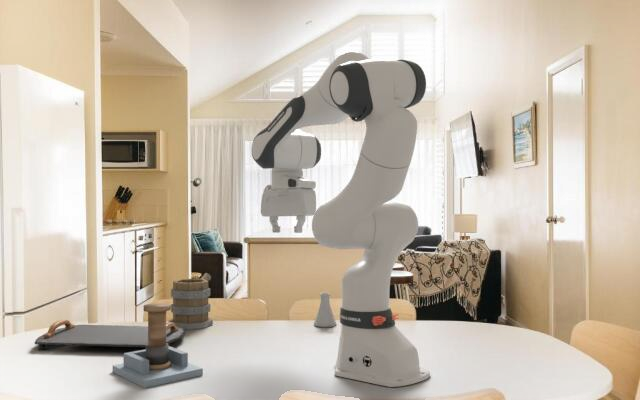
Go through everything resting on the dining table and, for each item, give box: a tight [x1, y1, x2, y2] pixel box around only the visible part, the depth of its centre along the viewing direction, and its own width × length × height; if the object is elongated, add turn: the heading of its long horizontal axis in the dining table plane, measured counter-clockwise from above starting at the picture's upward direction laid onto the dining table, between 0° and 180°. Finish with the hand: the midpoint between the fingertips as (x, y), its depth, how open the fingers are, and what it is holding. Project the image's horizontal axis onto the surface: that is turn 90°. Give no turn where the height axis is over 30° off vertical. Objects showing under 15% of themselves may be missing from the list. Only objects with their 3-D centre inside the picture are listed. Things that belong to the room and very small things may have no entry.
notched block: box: [112, 345, 204, 389], centre depth 139 cm, size 16×14×4 cm
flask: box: [313, 292, 338, 328], centre depth 192 cm, size 7×7×10 cm
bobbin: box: [143, 302, 171, 371], centre depth 139 cm, size 6×6×14 cm
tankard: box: [168, 272, 214, 331], centre depth 195 cm, size 20×13×15 cm, turn 162°
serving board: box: [34, 319, 186, 351], centre depth 169 cm, size 39×23×6 cm, turn 84°
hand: (287, 232), depth 171 cm, fingers open, 8 cm apart
